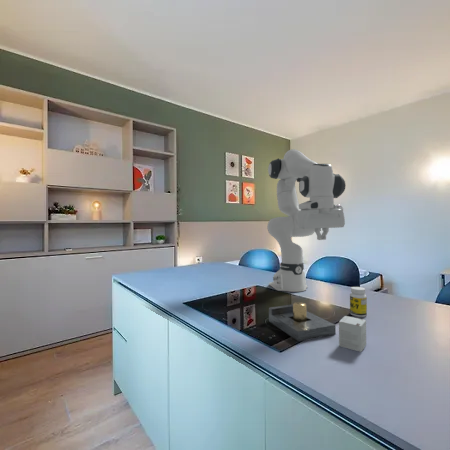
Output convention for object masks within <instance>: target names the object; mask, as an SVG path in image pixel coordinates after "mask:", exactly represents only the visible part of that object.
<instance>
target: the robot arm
mask: <svg viewBox="0 0 450 450" xmlns="http://www.w3.org/2000/svg"><path fill="white" fill-rule="evenodd" d="M267 173H268V176H269V177H270V178H271V179H274V180H277V179H278V181H277V184H276V198H277V208H278V210H279V211H280V212H281V213H282V214H284V215H286V216H277V217H273V218H270V219H269V221H268V223H267V228H266V229H267V231H268V234H269V235H270V236H271V237H272V238H274V239H275V240H276V241H277V243H278V245H279V247H280V253H281V254H280V256H281V262H279V268H278V270H277V271H276V272H275V273H274V274H273V277H272V282H271V281H270V282H269V283H268V285H269V286H270V287H272V288H273V289H274V290H276V291H279V292H281V291H282V292H292V293H293V292H295V293H299V292H304V291H306V290H307V288H309V287H308V284H307V281H306V280H307V279H306V273H305V271H304V269H305V265H304V262H303V259H304V258H303V257H304V256H303V248H302V247H301V245H299V244H298V243H296V242H293V239H292V238H301V237H302V238H303V237H309V236H312V235H314V234H316V240H318V241H322V240H323V241H324V240H327V235H328V233H329V232H330V229H333V228H334V229H338V228H344V227H345V224H346V221H345V213H344V208H343V206H342V205H340V204H334V203H335V202H334V201H335V200H334V199H338V198H340V196H342V195H343V193H345V190H346V180H345V179H344V177H343V176H342V175H340V173H336V174H335V173H334V171H333V166H332V165H331V164H330V163H318V162H316V161H315V160H313V159H310V158H309V157H308V156H306V155H305V154H304V153H303V152H302V151H300V150H298V149H294V148H293V149H289V150H287V151H286V152H285V154H284V155H283V158H281V159H280V158H276V159H274V160H271V161H270V162H269V165H268V166H267ZM296 182H298V183H299V184H298V189H299V194H301V196H303V197H304V198H309V200H307V201H305V202H304V201H303V202H302V203H299V199H298V194H297V189H296ZM321 231H322V233H321Z"/></svg>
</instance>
